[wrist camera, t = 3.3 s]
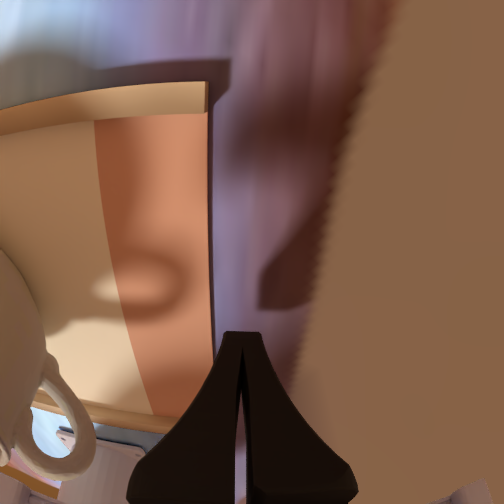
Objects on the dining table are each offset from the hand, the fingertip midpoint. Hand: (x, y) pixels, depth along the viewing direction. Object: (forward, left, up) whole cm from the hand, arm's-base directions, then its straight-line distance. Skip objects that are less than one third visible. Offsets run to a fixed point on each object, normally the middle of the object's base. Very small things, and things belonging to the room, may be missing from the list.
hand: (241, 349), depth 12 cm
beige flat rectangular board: (0, +18, -2) cm, 18 cm away
